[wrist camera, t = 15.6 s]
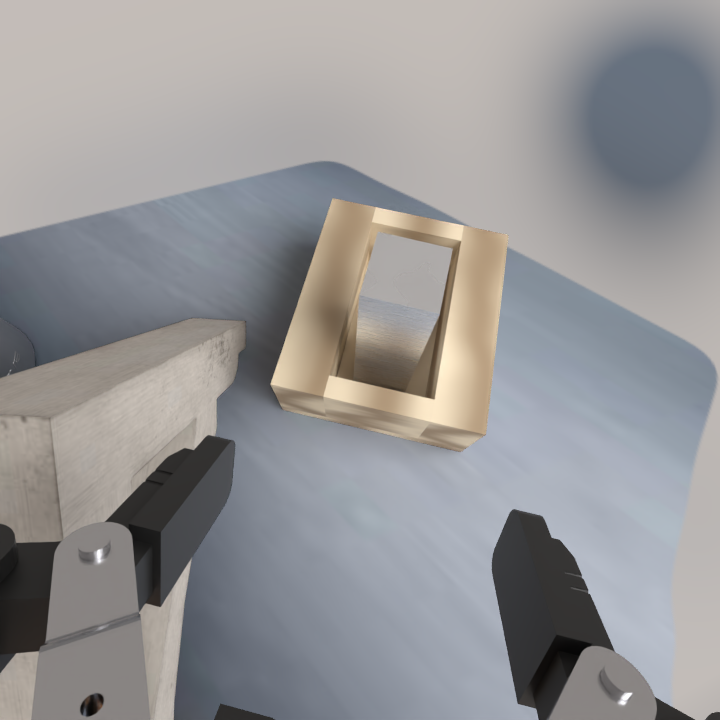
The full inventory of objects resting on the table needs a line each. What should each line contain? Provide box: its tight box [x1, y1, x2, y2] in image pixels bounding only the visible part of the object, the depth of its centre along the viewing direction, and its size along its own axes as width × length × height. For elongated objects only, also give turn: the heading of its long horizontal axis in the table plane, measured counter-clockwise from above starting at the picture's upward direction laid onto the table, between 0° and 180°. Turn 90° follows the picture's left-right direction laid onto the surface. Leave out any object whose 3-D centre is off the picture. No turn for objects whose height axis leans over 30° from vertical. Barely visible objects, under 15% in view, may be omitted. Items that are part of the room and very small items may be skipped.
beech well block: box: [271, 198, 508, 452], centre depth 32 cm, size 14×16×6 cm
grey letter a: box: [0, 318, 246, 720], centre depth 26 cm, size 22×4×30 cm
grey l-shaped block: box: [353, 232, 453, 393], centre depth 28 cm, size 4×10×13 cm, turn 166°
